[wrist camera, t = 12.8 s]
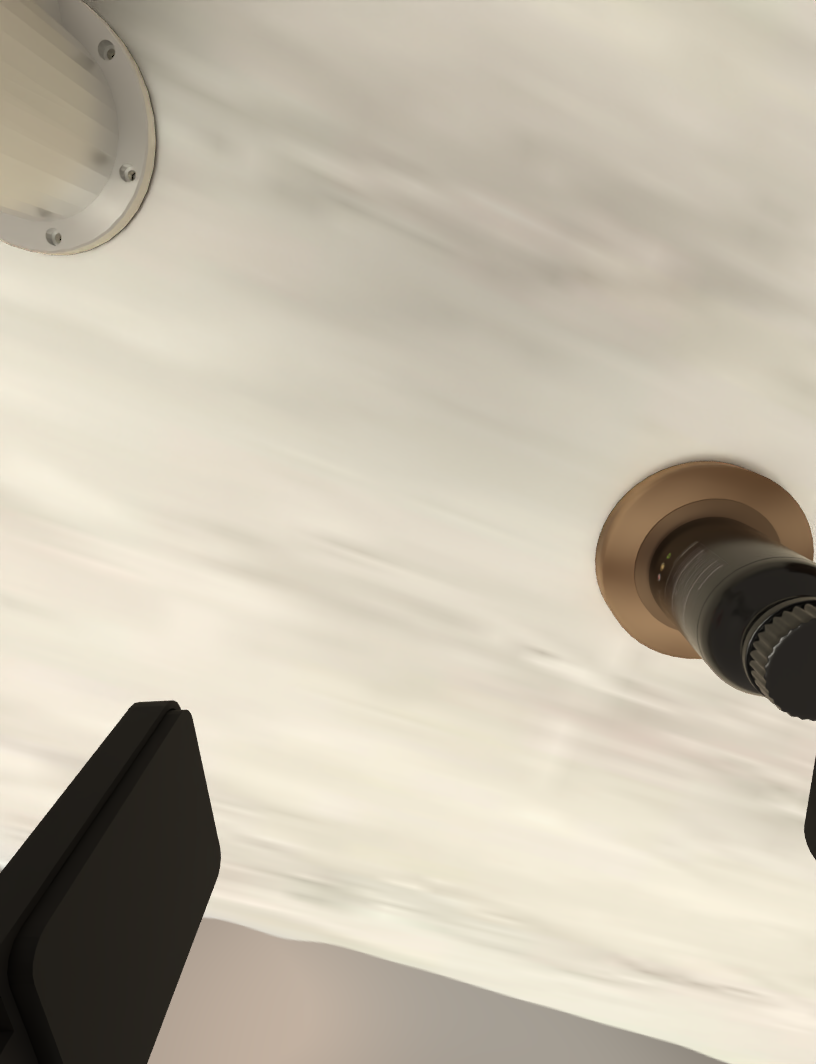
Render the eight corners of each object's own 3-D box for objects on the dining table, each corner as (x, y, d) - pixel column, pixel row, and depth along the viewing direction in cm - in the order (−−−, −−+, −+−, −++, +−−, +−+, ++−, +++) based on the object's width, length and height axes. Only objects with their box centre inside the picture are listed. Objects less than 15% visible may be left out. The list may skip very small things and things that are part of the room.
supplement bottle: (784, 530, 35) (954, 619, 23) (735, 634, 37) (869, 763, 25) (669, 498, 35) (783, 573, 23) (626, 605, 37) (711, 722, 25)
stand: (597, 466, 36) (607, 473, 34) (806, 455, 36) (829, 462, 34) (592, 646, 40) (601, 663, 38) (782, 641, 39) (802, 657, 37)
